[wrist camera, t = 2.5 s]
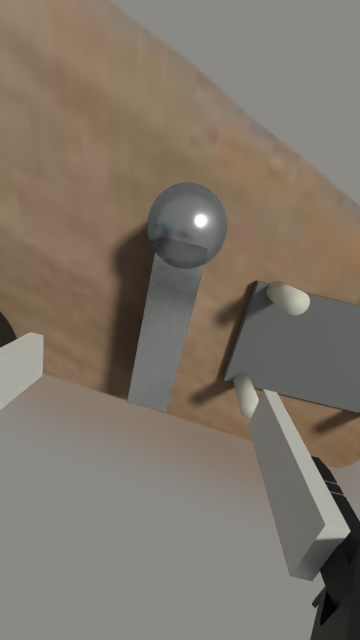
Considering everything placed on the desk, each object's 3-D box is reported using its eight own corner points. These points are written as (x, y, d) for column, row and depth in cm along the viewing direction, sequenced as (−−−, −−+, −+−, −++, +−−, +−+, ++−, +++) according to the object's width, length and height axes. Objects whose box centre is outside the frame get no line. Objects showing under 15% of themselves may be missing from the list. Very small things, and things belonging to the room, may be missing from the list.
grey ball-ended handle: (179, 379, 28) (175, 413, 22) (133, 368, 28) (117, 400, 22) (226, 207, 21) (237, 193, 16) (166, 192, 21) (155, 173, 16)
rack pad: (222, 379, 28) (228, 413, 22) (257, 275, 23) (277, 285, 18) (378, 416, 28) (425, 460, 22) (441, 320, 23) (520, 344, 18)
